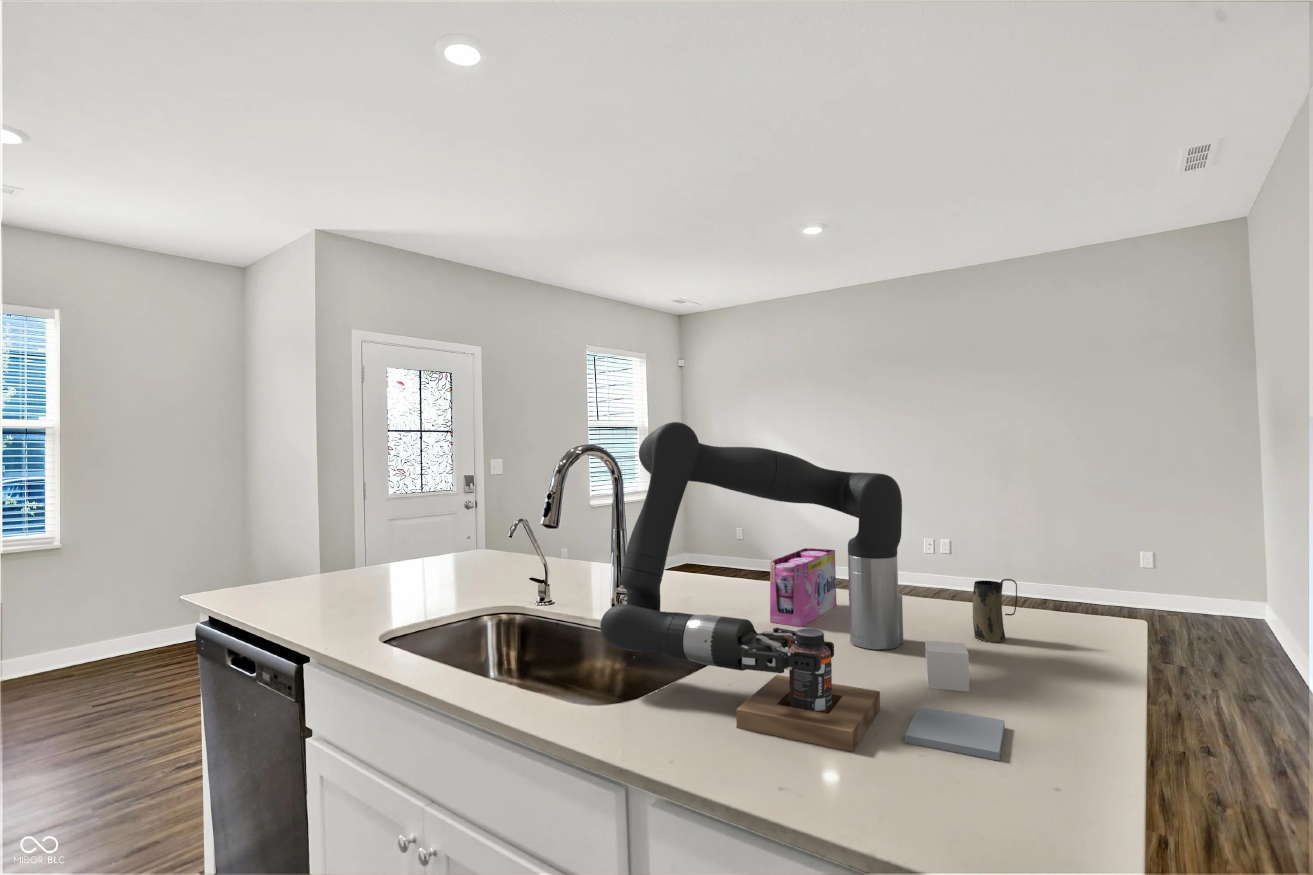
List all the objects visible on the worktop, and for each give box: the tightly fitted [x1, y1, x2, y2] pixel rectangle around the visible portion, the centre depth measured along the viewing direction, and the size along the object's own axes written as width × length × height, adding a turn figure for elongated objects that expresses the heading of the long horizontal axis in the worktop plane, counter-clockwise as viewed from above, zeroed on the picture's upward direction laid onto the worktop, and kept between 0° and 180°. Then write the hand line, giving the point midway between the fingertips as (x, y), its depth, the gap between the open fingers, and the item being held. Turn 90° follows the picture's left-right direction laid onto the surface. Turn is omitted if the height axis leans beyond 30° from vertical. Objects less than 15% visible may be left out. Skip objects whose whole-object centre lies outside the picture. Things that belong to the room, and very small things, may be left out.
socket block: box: [735, 674, 881, 752], centre depth 97 cm, size 16×16×2 cm
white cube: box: [924, 640, 970, 693], centre depth 109 cm, size 6×6×6 cm
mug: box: [972, 578, 1018, 644], centre depth 133 cm, size 8×6×12 cm
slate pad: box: [904, 705, 1006, 762], centre depth 90 cm, size 11×11×1 cm
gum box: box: [769, 547, 837, 628], centre depth 155 cm, size 24×8×14 cm, turn 147°
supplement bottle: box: [788, 627, 833, 714], centre depth 97 cm, size 6×6×11 cm
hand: (826, 656), depth 96 cm, fingers closed on supplement bottle, 6 cm apart
